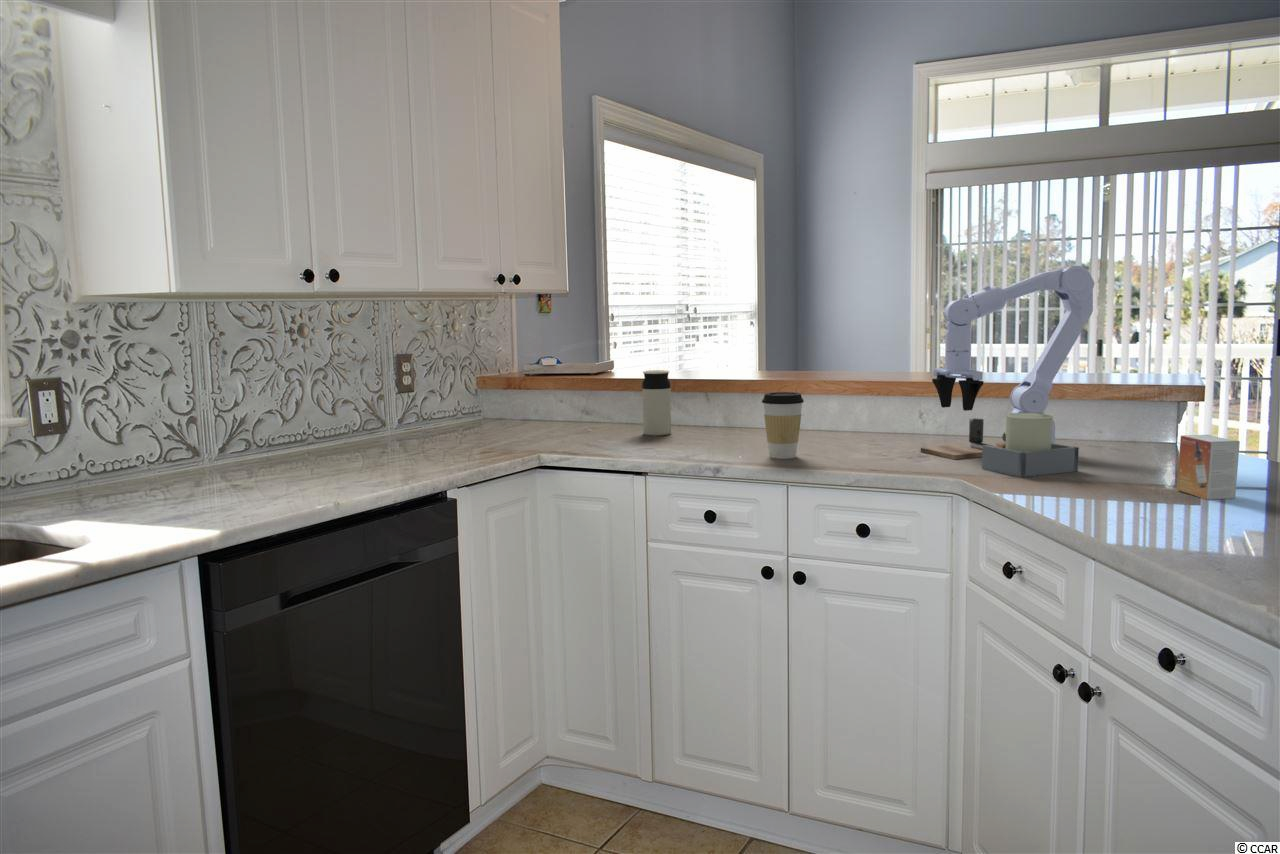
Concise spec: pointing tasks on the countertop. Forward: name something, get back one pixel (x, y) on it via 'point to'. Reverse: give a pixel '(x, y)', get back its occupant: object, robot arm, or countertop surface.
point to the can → (1028, 432)
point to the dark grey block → (980, 435)
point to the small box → (1208, 466)
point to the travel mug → (656, 403)
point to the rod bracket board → (953, 451)
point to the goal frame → (1031, 460)
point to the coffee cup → (782, 423)
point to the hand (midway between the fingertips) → (956, 408)
